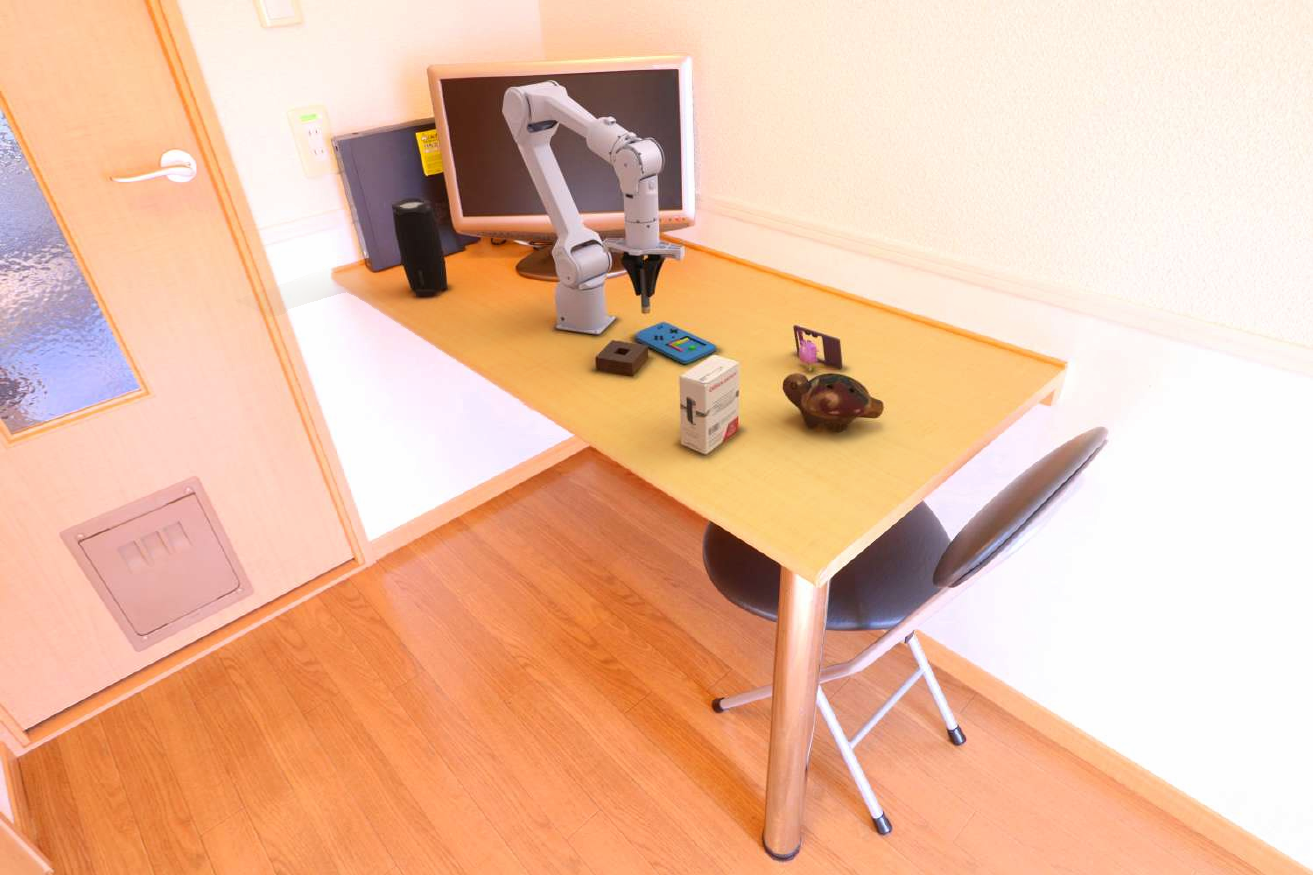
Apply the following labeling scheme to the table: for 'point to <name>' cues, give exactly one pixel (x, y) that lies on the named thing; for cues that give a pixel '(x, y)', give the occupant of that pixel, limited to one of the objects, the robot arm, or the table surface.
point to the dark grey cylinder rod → (644, 292)
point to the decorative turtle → (830, 399)
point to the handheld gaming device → (675, 342)
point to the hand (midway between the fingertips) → (645, 294)
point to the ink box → (709, 403)
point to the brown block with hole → (622, 358)
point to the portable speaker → (420, 246)
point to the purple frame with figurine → (810, 350)
